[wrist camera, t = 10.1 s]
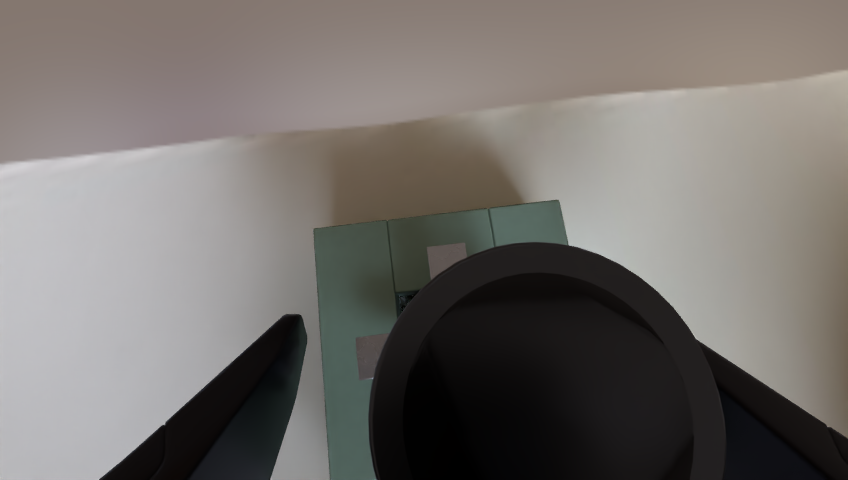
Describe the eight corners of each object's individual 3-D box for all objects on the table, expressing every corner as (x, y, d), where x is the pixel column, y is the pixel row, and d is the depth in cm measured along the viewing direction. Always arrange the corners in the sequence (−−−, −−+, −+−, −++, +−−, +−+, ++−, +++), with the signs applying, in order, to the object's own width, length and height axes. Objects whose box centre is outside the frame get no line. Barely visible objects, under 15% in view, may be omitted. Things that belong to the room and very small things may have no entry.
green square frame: (536, 217, 18) (559, 198, 15) (580, 439, 16) (617, 469, 13) (331, 242, 17) (312, 228, 14) (348, 473, 15) (331, 511, 12)
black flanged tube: (510, 253, 17) (762, 87, 5) (537, 406, 16) (1009, 783, 3) (366, 271, 17) (208, 148, 4) (381, 428, 16) (213, 933, 3)
